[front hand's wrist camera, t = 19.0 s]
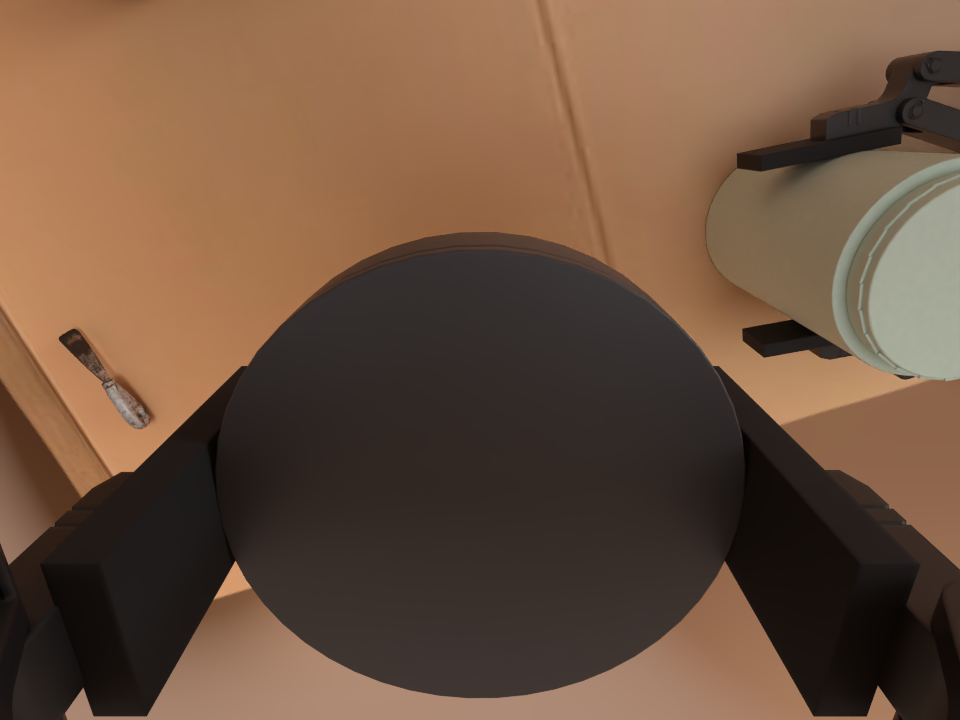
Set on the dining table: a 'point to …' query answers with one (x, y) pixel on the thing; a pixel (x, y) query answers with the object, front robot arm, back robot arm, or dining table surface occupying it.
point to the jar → (853, 252)
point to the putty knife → (106, 380)
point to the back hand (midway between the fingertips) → (750, 257)
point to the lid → (480, 468)
